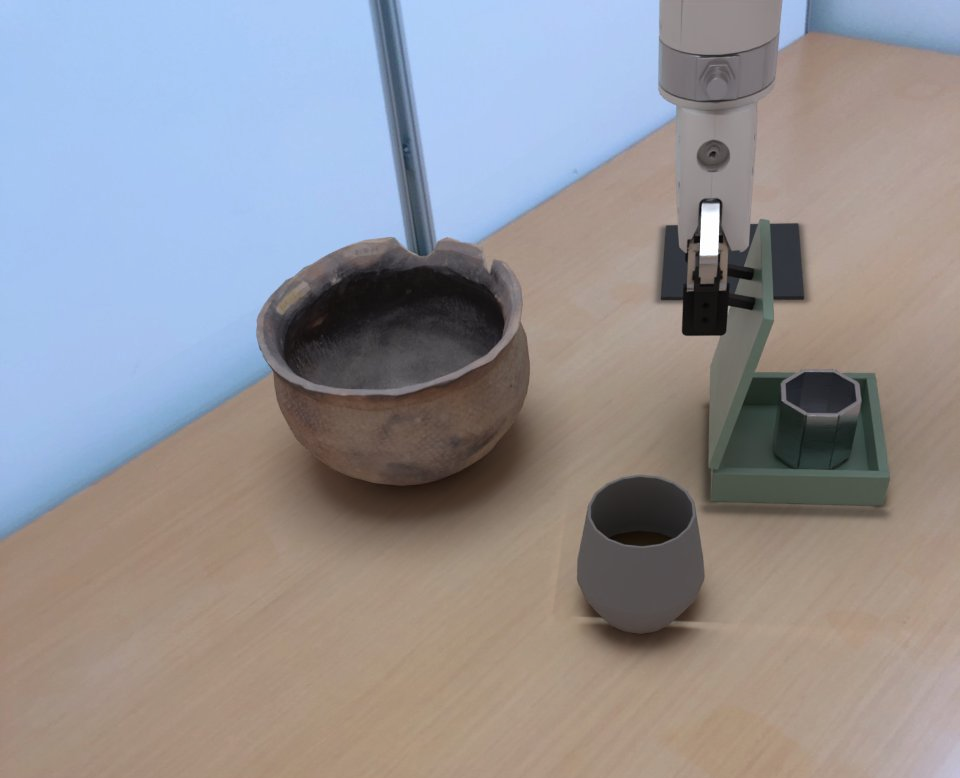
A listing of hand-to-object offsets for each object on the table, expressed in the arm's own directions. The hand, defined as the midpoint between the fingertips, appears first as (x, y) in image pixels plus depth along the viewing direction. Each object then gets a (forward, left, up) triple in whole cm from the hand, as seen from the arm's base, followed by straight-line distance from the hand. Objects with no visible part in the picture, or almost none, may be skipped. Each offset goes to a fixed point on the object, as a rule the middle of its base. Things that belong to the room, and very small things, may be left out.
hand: (704, 296), depth 84 cm
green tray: (-8, 0, -16) cm, 18 cm away
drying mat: (-3, -31, -16) cm, 35 cm away
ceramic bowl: (+25, 0, -16) cm, 29 cm away
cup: (+4, +18, -16) cm, 24 cm away
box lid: (-3, 0, -4) cm, 6 cm away
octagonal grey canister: (-10, 0, -15) cm, 18 cm away
